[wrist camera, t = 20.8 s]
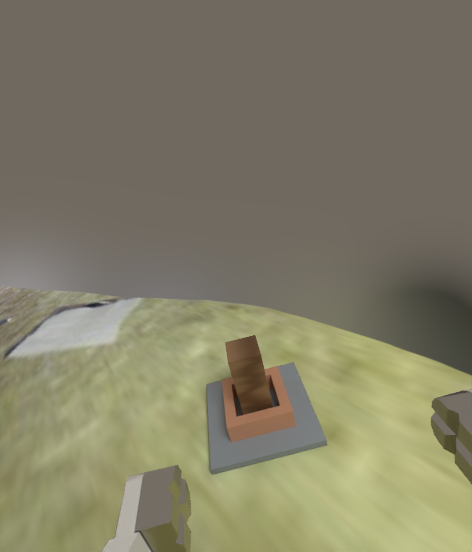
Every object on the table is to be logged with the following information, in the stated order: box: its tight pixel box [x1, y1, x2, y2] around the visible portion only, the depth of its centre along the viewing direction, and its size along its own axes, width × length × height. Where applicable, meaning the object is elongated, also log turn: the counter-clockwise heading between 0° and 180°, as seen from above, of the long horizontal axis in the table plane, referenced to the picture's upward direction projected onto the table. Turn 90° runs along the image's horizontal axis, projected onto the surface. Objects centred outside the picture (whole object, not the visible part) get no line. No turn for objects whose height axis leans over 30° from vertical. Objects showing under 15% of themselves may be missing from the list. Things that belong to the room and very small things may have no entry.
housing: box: [207, 362, 327, 475], centre depth 50 cm, size 16×16×4 cm
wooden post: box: [225, 335, 273, 415], centre depth 48 cm, size 4×4×12 cm
